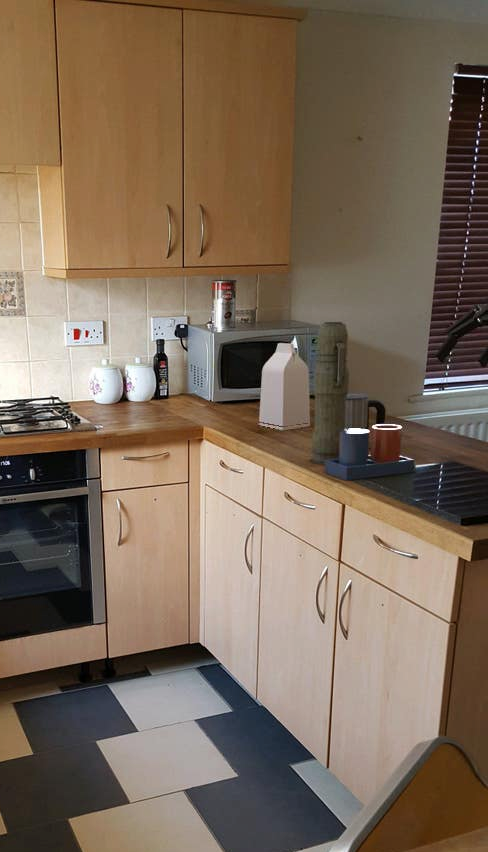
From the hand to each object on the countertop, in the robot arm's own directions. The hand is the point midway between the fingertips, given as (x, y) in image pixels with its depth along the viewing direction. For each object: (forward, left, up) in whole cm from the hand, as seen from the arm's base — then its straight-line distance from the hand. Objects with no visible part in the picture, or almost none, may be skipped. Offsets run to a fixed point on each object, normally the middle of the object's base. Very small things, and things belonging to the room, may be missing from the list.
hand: (459, 361), depth 212 cm
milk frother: (+33, +8, -26) cm, 43 cm away
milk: (+74, +7, -26) cm, 79 cm away
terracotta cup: (+3, +18, -25) cm, 31 cm away
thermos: (+19, +24, -26) cm, 40 cm away
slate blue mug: (+2, +27, -25) cm, 37 cm away
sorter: (+2, +23, -26) cm, 34 cm away
